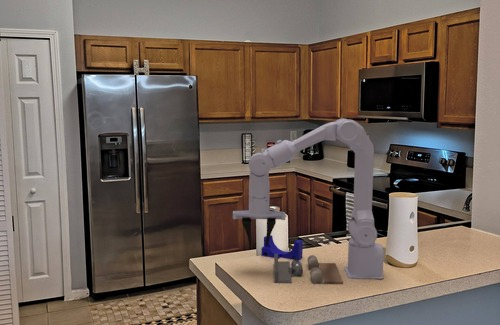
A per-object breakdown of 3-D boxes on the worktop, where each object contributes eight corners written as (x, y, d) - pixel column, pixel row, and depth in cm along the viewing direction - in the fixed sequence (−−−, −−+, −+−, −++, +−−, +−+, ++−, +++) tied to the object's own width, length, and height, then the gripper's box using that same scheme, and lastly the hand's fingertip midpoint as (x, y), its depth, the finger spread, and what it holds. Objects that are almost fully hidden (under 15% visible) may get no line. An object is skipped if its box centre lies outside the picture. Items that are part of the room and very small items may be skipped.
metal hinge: (300, 264, 142) (300, 254, 142) (304, 283, 127) (304, 272, 127) (274, 263, 142) (274, 253, 142) (274, 282, 128) (274, 271, 127)
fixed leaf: (335, 265, 142) (335, 255, 141) (342, 284, 127) (343, 273, 126) (307, 265, 142) (307, 255, 142) (311, 284, 127) (311, 272, 127)
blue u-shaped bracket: (261, 256, 150) (261, 238, 150) (268, 253, 154) (268, 234, 153) (296, 263, 144) (296, 244, 144) (302, 259, 148) (302, 240, 148)
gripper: (284, 194, 136) (284, 240, 138) (234, 193, 137) (234, 239, 138) (285, 199, 129) (284, 247, 131) (232, 198, 130) (232, 246, 131)
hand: (258, 244), depth 134 cm, fingers open, 4 cm apart
